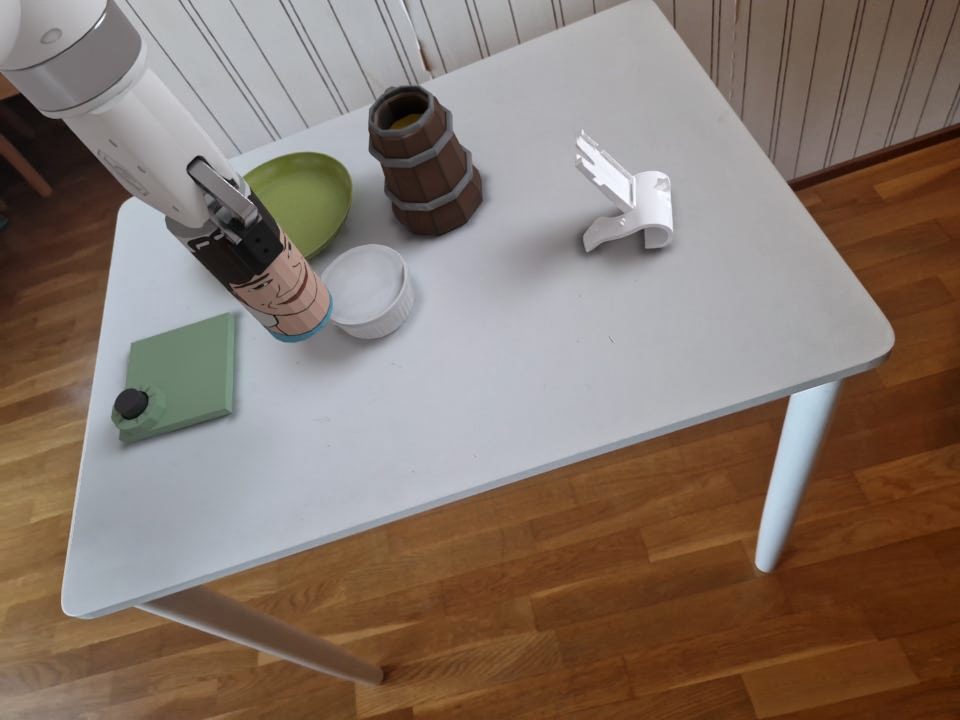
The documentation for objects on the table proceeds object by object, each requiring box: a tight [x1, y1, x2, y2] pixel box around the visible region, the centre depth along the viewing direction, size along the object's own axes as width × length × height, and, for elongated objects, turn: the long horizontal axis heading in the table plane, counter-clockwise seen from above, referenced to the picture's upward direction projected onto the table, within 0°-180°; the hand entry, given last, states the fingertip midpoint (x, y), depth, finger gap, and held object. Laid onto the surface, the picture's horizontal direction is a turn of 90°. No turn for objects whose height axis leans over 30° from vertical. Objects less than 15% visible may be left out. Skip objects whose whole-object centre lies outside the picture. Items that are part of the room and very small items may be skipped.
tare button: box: [113, 388, 148, 419], centre depth 78 cm, size 3×3×2 cm
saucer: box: [242, 151, 354, 262], centre depth 90 cm, size 21×21×3 cm
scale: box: [110, 312, 236, 445], centre depth 82 cm, size 14×14×3 cm
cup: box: [164, 171, 333, 344], centre depth 56 cm, size 7×7×15 cm
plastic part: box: [574, 128, 674, 253], centre depth 72 cm, size 8×10×12 cm
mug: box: [367, 84, 484, 236], centre depth 81 cm, size 16×12×15 cm
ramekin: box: [319, 243, 415, 340], centre depth 78 cm, size 11×11×5 cm
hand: (240, 244), depth 54 cm, fingers closed on cup, 6 cm apart
